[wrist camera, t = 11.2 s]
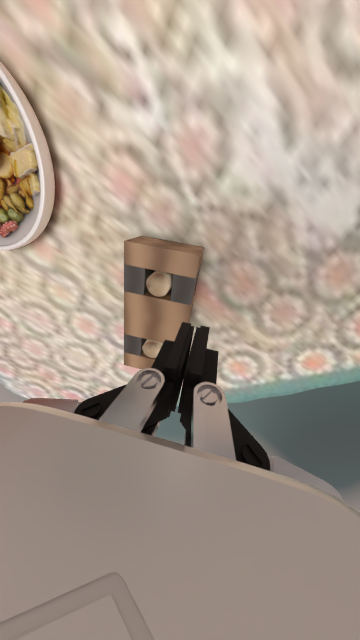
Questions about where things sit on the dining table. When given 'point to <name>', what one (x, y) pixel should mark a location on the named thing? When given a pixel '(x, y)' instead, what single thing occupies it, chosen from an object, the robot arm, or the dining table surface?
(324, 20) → the dining table surface
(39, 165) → the bowl
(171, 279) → the beech peg
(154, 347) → the beech peg
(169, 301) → the banded wooden block
